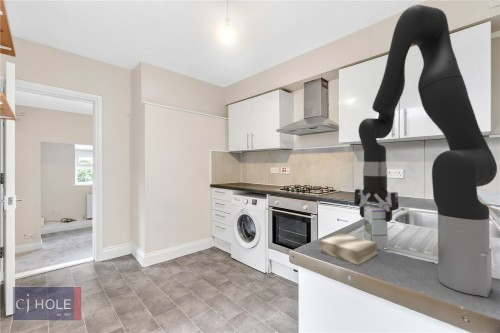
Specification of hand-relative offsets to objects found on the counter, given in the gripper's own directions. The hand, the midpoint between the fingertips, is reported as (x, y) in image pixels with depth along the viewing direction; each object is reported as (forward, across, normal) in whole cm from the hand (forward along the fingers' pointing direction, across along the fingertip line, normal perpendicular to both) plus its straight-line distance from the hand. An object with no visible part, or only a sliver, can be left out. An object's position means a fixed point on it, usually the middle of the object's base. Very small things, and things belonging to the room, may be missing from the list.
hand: (375, 219), depth 82 cm
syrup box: (+10, 0, 0) cm, 10 cm away
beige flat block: (+10, +3, +13) cm, 17 cm away
